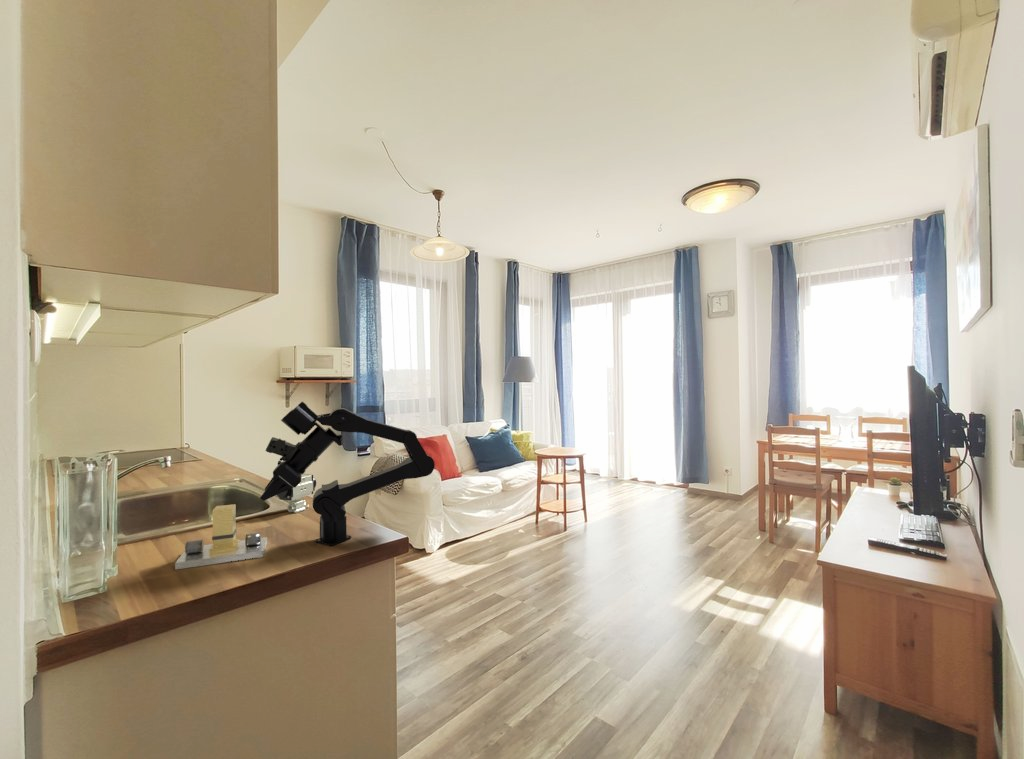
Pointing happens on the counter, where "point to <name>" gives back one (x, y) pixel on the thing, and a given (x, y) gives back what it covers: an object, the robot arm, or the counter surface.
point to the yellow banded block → (224, 529)
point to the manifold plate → (200, 555)
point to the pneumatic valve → (299, 493)
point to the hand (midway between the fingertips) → (263, 494)
